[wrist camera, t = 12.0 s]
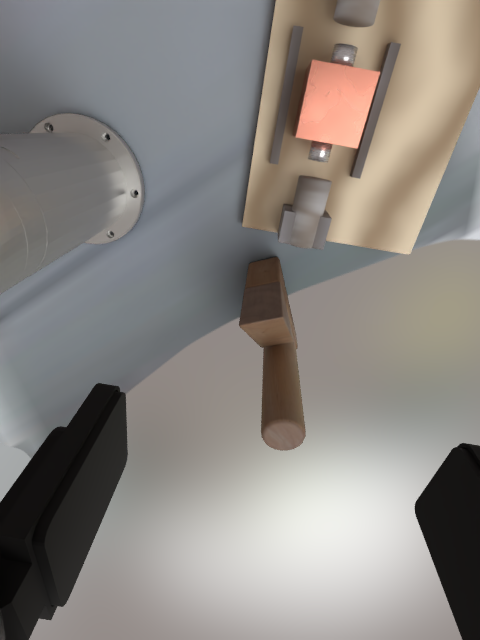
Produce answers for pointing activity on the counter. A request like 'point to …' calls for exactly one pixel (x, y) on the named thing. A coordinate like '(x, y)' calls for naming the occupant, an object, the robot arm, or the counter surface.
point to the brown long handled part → (274, 353)
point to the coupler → (334, 102)
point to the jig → (381, 123)
